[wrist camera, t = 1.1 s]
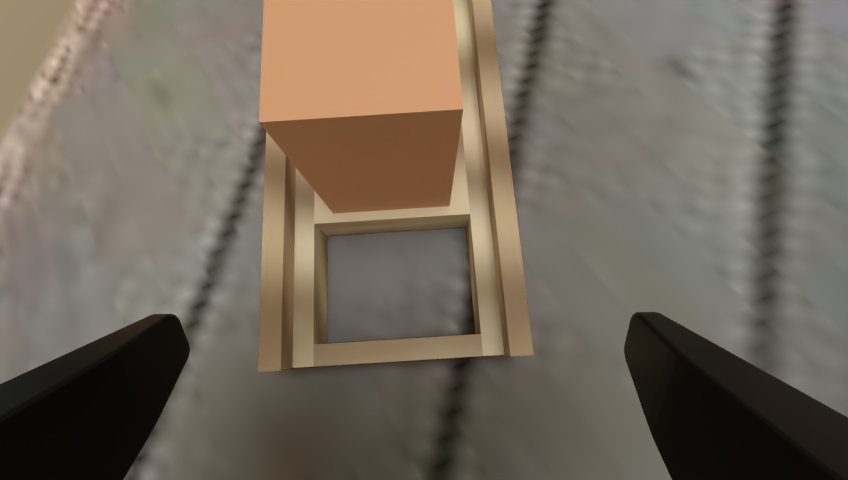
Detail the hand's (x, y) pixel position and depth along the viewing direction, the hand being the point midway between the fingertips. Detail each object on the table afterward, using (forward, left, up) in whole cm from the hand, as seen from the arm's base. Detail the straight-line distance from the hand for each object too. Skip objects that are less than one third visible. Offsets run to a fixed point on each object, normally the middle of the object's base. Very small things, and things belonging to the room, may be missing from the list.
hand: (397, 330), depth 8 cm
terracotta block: (+8, +5, -11) cm, 15 cm away
